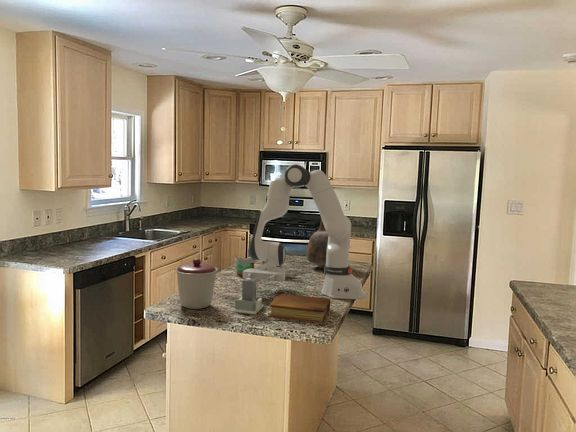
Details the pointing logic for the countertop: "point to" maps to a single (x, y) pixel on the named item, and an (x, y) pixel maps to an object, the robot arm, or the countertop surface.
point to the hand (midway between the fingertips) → (259, 278)
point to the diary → (300, 307)
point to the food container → (243, 265)
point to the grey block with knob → (249, 289)
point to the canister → (196, 284)
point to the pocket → (248, 306)
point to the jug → (318, 247)
